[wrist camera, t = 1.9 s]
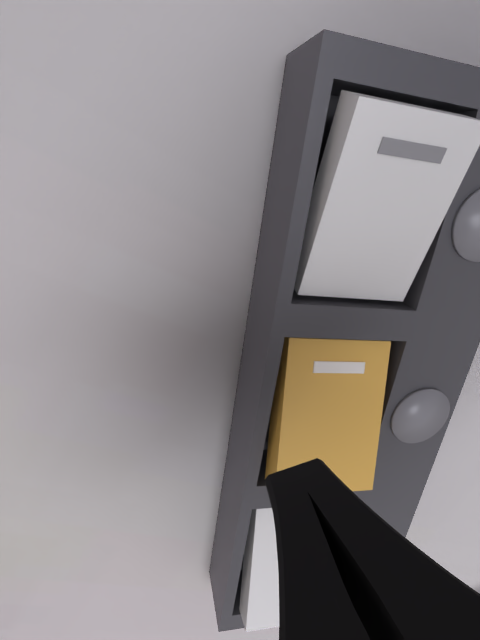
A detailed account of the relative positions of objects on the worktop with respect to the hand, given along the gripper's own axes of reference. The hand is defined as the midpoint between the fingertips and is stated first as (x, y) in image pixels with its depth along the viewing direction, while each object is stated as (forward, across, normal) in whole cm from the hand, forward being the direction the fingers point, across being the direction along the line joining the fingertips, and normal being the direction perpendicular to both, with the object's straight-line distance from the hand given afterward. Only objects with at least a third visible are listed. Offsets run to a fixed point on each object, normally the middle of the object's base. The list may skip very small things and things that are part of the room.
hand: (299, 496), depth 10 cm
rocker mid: (+7, -3, +4) cm, 9 cm away
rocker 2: (+7, -6, -4) cm, 11 cm away
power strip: (+11, -4, +7) cm, 13 cm away
